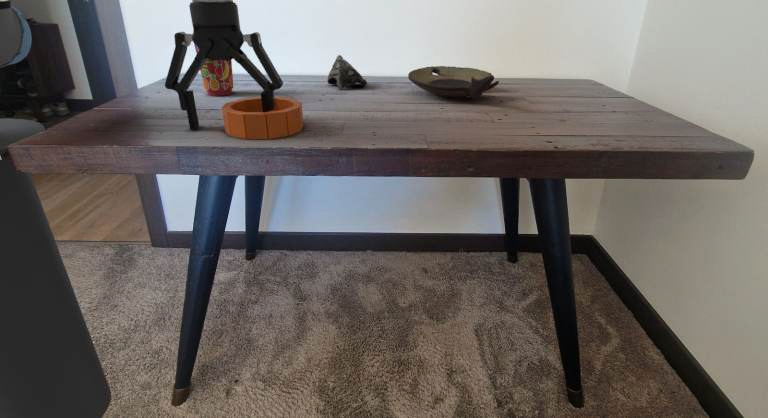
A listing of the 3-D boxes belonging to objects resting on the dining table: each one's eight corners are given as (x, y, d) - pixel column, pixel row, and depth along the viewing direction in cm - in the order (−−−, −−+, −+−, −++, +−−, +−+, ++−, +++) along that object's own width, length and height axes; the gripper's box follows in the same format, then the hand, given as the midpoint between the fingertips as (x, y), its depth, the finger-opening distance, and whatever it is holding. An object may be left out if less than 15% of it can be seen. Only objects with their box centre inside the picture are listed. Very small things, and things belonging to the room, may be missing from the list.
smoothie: (195, 93, 108) (180, 5, 100) (225, 89, 114) (213, 5, 105) (214, 98, 104) (199, 6, 95) (244, 93, 109) (232, 5, 101)
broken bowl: (487, 86, 122) (490, 57, 119) (509, 112, 96) (514, 76, 92) (407, 84, 123) (408, 55, 120) (407, 109, 97) (408, 73, 93)
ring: (217, 139, 75) (212, 114, 73) (236, 119, 87) (233, 96, 86) (297, 139, 76) (295, 114, 74) (306, 118, 88) (304, 96, 86)
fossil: (376, 85, 118) (362, 51, 112) (351, 104, 116) (335, 71, 110) (355, 77, 126) (340, 46, 120) (331, 96, 124) (315, 65, 117)
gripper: (291, 1, 76) (301, 121, 85) (145, -1, 75) (171, 122, 84) (285, 1, 69) (296, 132, 79) (124, 0, 68) (154, 133, 77)
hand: (231, 127), depth 81 cm, fingers open, 13 cm apart
